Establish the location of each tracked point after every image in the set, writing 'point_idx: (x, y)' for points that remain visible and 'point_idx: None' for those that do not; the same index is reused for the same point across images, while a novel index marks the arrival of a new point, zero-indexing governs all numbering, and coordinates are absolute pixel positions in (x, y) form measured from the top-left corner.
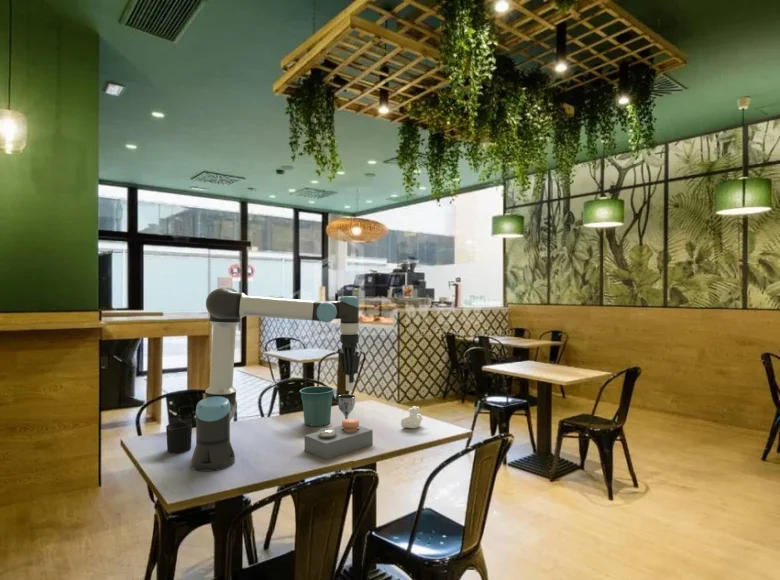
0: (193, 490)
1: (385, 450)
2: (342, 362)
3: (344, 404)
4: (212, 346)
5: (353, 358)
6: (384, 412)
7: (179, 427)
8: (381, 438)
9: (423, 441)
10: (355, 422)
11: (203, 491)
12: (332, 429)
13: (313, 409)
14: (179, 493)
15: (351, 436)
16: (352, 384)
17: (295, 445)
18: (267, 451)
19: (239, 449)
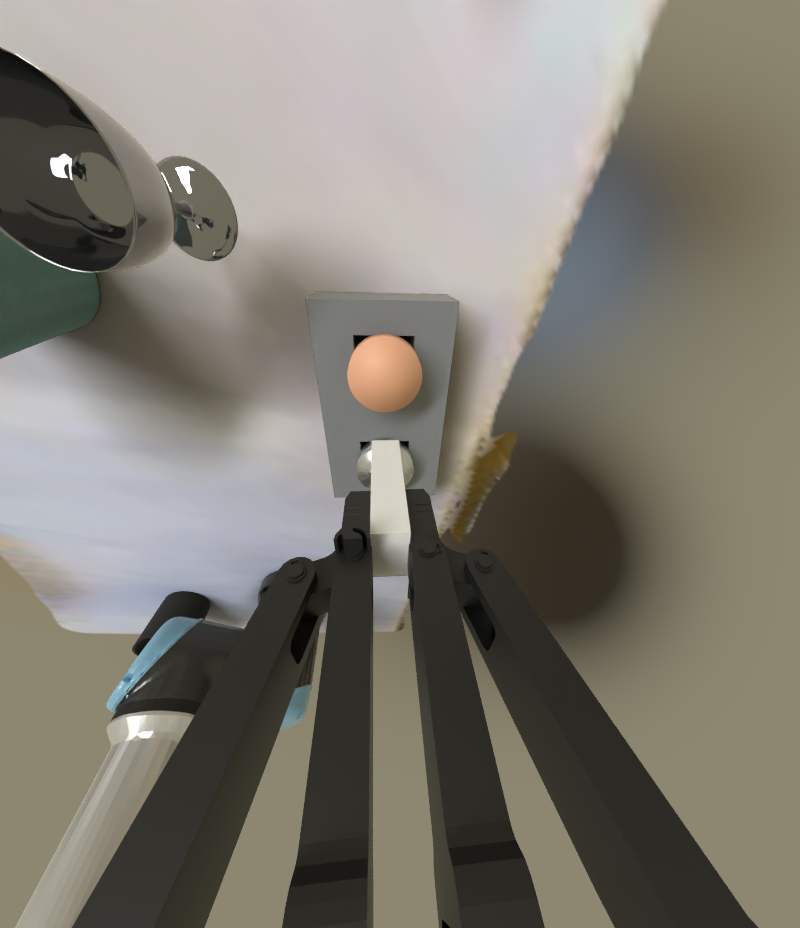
0: (380, 616)
1: (521, 308)
2: (276, 734)
3: (154, 255)
4: None
5: (581, 858)
6: None
7: (147, 639)
8: (424, 193)
9: (635, 26)
10: (415, 374)
11: (392, 611)
12: None
13: (27, 339)
14: (377, 624)
15: (444, 413)
16: (401, 470)
17: (288, 467)
18: (291, 521)
19: (244, 548)
